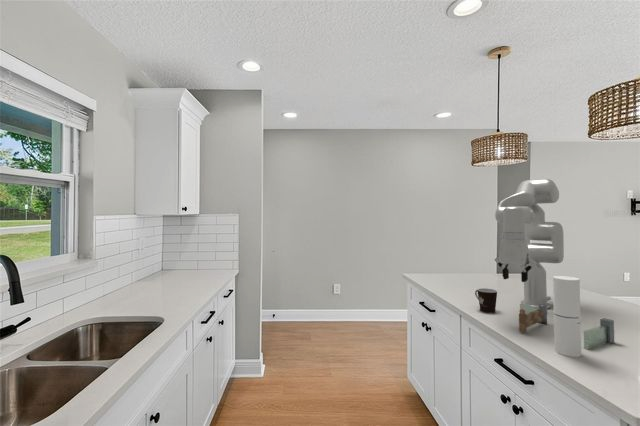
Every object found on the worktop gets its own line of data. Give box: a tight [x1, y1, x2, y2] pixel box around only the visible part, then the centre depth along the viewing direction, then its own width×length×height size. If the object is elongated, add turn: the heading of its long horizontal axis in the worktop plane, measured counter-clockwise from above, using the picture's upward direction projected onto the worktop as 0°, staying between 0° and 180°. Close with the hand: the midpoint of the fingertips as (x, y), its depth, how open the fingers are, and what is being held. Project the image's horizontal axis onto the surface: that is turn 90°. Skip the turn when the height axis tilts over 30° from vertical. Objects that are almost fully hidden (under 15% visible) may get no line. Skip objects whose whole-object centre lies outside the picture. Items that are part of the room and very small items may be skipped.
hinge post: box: [519, 303, 548, 326], centre depth 141 cm, size 3×11×8 cm, turn 24°
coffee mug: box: [474, 287, 498, 314], centre depth 157 cm, size 12×9×10 cm
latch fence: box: [583, 317, 615, 350], centre depth 114 cm, size 15×3×8 cm, turn 115°
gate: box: [518, 308, 543, 334], centre depth 131 cm, size 17×2×9 cm, turn 125°
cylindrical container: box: [552, 275, 582, 358], centre depth 109 cm, size 7×7×25 cm
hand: (514, 279), depth 133 cm, fingers open, 6 cm apart
